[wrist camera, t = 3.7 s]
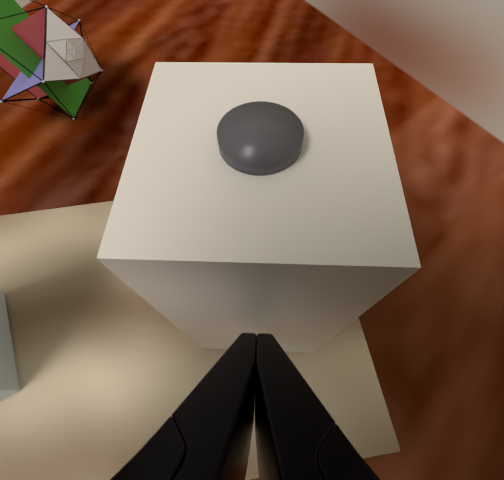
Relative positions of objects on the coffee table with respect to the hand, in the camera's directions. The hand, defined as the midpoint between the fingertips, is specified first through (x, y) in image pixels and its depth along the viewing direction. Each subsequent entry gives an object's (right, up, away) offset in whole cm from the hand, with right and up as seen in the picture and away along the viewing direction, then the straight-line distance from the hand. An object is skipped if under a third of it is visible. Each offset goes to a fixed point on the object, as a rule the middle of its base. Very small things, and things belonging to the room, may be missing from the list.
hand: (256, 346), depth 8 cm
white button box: (0, 0, +6) cm, 6 cm away
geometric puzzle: (-14, +14, +15) cm, 25 cm away
